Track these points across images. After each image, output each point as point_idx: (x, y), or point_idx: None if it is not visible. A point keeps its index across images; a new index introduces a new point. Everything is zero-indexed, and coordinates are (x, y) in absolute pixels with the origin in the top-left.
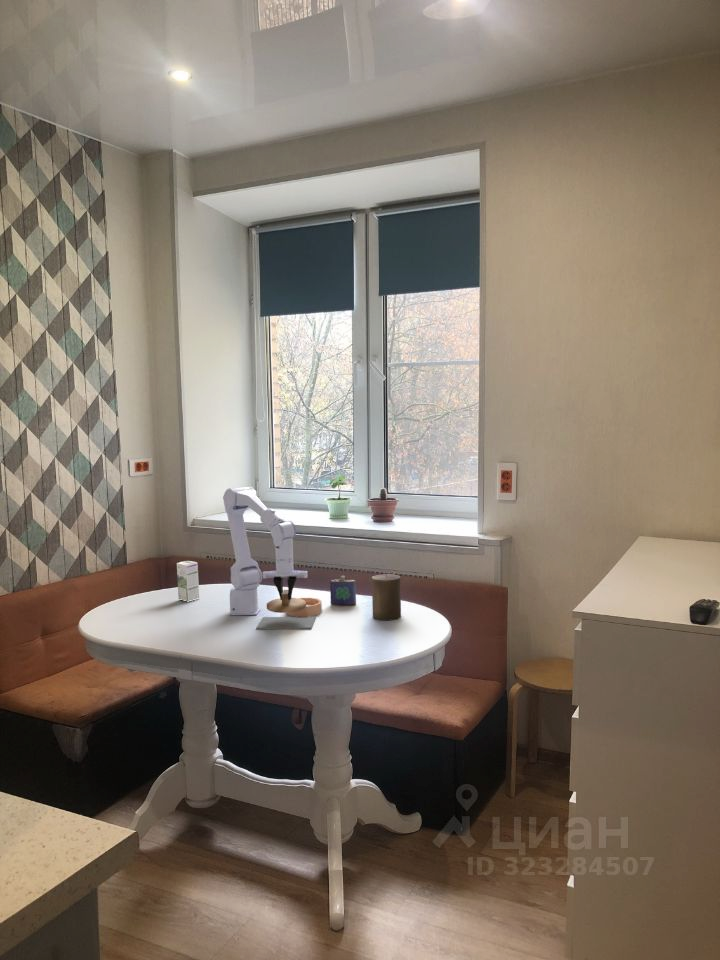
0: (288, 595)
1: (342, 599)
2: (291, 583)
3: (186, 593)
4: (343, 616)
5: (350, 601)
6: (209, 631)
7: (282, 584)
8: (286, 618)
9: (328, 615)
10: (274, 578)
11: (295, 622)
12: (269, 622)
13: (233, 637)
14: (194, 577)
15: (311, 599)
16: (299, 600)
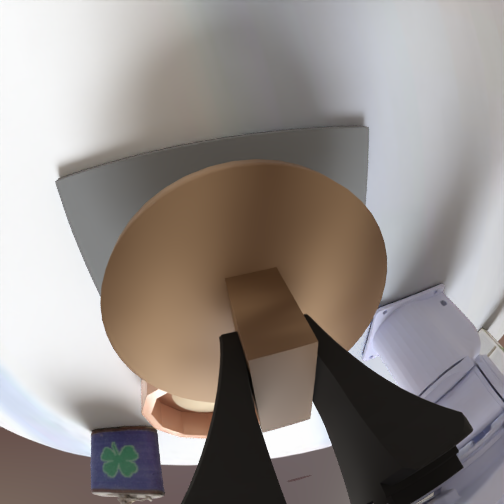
0: (242, 361)
1: (118, 443)
2: (219, 496)
3: (493, 339)
4: (46, 361)
5: (99, 439)
6: (487, 115)
7: (339, 449)
8: None
9: (99, 366)
10: (451, 460)
11: None
12: None
13: (420, 24)
14: None
15: (203, 432)
16: (186, 382)
